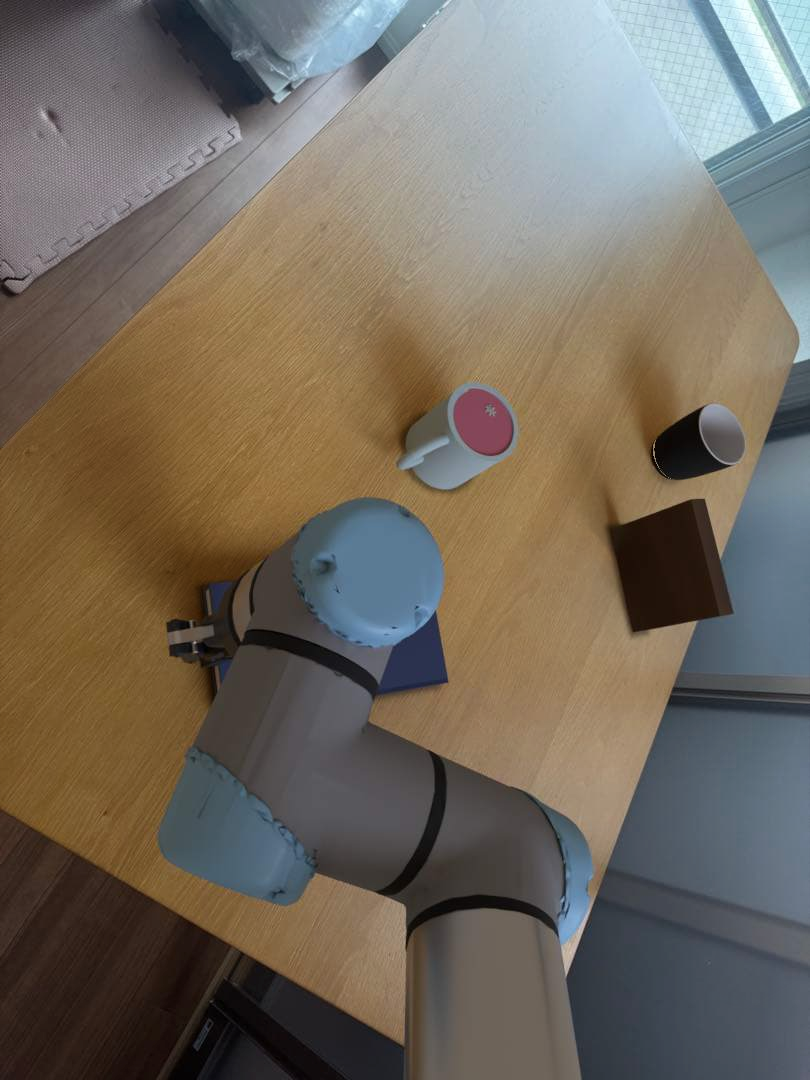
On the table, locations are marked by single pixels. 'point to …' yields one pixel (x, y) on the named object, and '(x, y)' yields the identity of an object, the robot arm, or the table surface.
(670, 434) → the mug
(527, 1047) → the robot arm
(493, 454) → the mug
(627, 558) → the dark brown flat block
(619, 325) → the table surface
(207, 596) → the book
